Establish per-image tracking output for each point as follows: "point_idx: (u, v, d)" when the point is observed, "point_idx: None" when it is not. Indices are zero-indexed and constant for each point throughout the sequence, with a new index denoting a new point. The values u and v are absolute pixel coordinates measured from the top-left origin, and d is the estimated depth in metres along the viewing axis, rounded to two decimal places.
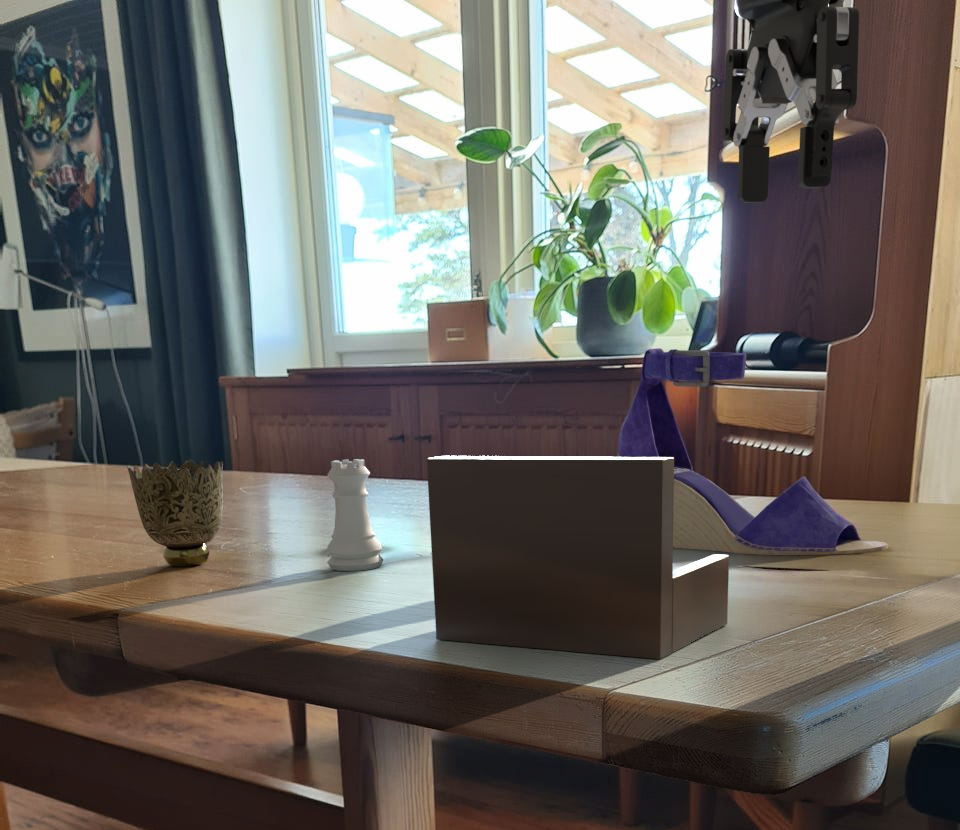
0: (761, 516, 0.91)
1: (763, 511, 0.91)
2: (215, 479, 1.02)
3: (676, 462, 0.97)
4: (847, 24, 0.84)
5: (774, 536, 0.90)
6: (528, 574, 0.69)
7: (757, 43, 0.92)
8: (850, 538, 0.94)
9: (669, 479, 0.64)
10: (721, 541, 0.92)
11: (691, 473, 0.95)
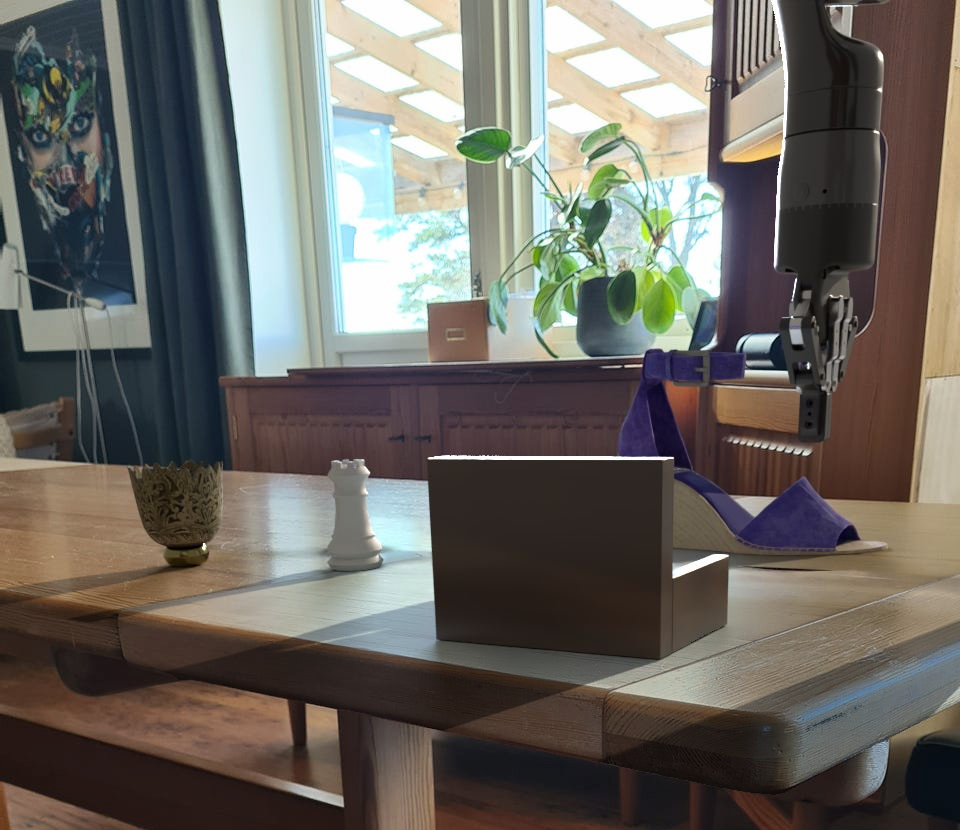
0: (761, 516, 0.91)
1: (763, 511, 0.91)
2: (215, 479, 1.02)
3: (676, 462, 0.97)
4: (800, 336, 0.96)
5: (774, 536, 0.90)
6: (528, 574, 0.69)
7: None
8: (850, 538, 0.94)
9: (669, 479, 0.64)
10: (721, 541, 0.92)
11: (691, 473, 0.95)
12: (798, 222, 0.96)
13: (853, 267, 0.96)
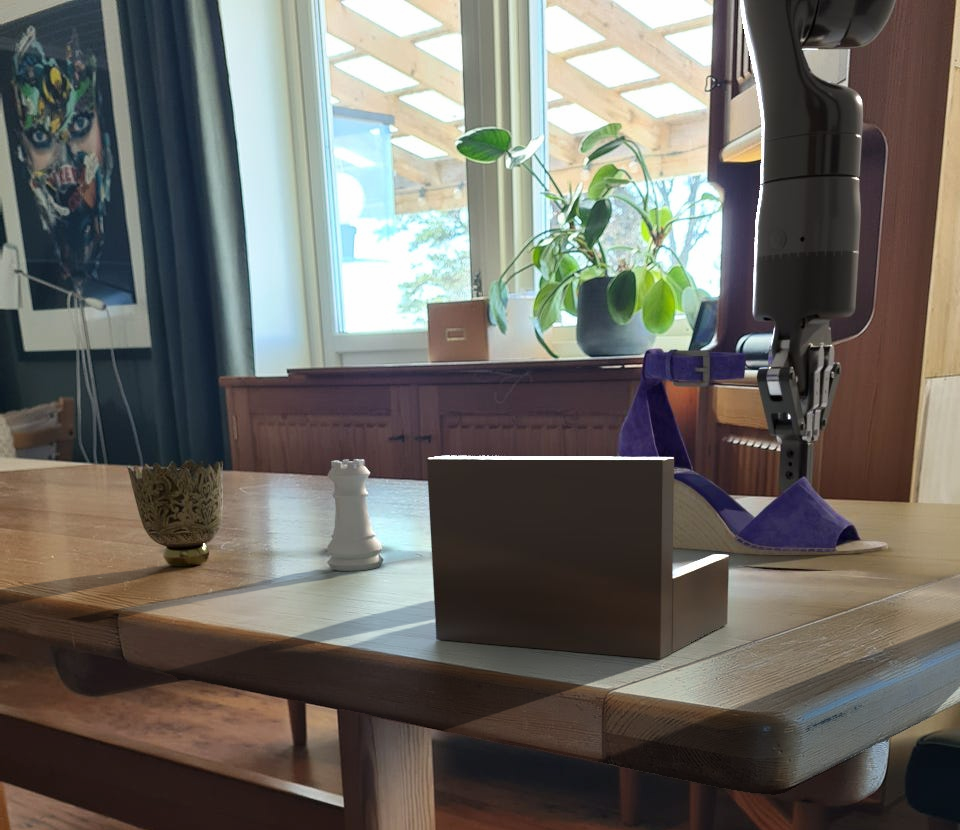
0: (761, 516, 0.91)
1: (763, 511, 0.91)
2: (215, 479, 1.02)
3: (676, 462, 0.97)
4: (778, 387, 0.94)
5: (774, 536, 0.90)
6: (528, 574, 0.69)
7: None
8: (850, 538, 0.94)
9: (669, 479, 0.64)
10: (721, 541, 0.92)
11: (691, 473, 0.95)
12: (776, 270, 0.93)
13: (833, 316, 0.94)
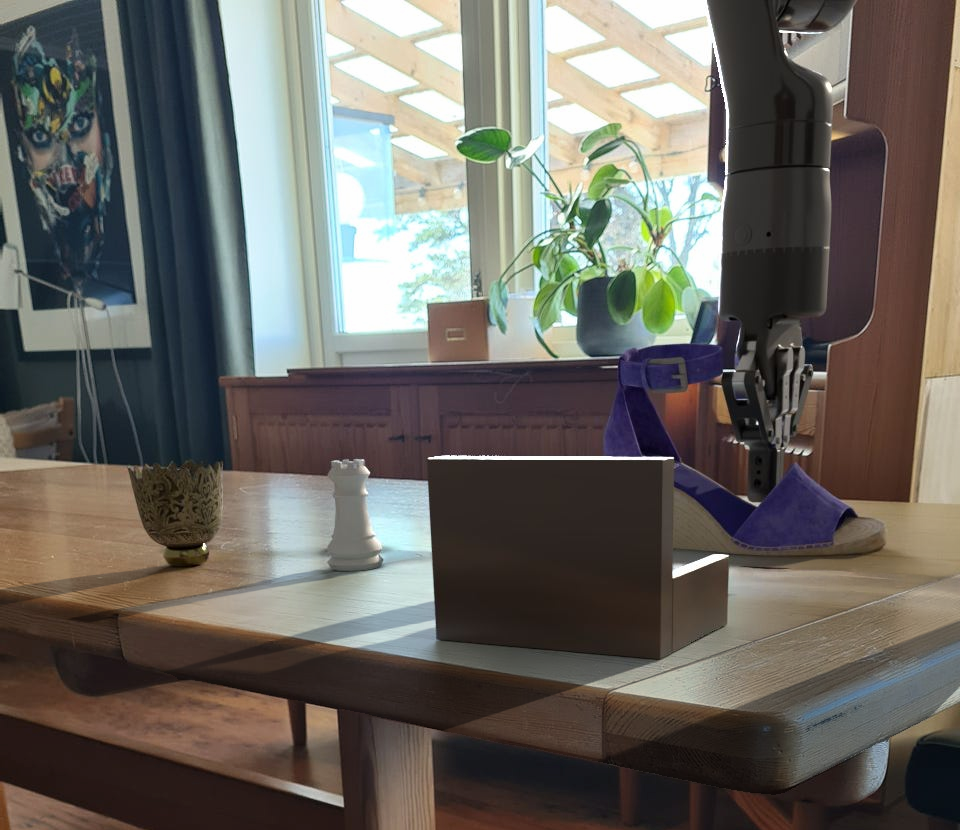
0: (755, 515, 0.90)
1: (757, 510, 0.90)
2: (215, 479, 1.02)
3: (664, 454, 0.95)
4: (744, 392, 0.88)
5: (770, 535, 0.90)
6: (528, 574, 0.69)
7: None
8: (848, 516, 0.93)
9: (669, 479, 0.64)
10: (718, 542, 0.92)
11: (680, 469, 0.94)
12: (741, 267, 0.88)
13: (802, 316, 0.88)
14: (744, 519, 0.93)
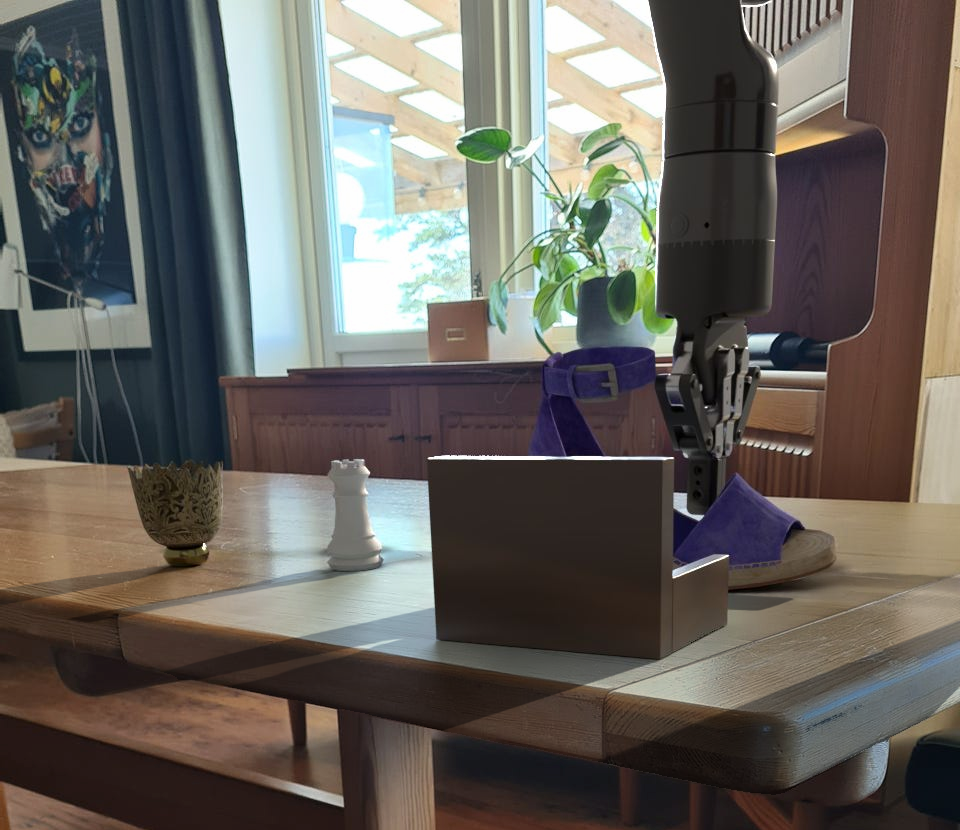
0: (696, 532, 0.83)
1: (697, 526, 0.83)
2: (215, 479, 1.02)
3: None
4: (679, 397, 0.81)
5: None
6: (528, 574, 0.69)
7: None
8: (794, 528, 0.86)
9: (669, 479, 0.64)
10: None
11: None
12: (677, 261, 0.81)
13: (743, 315, 0.81)
14: (684, 535, 0.86)
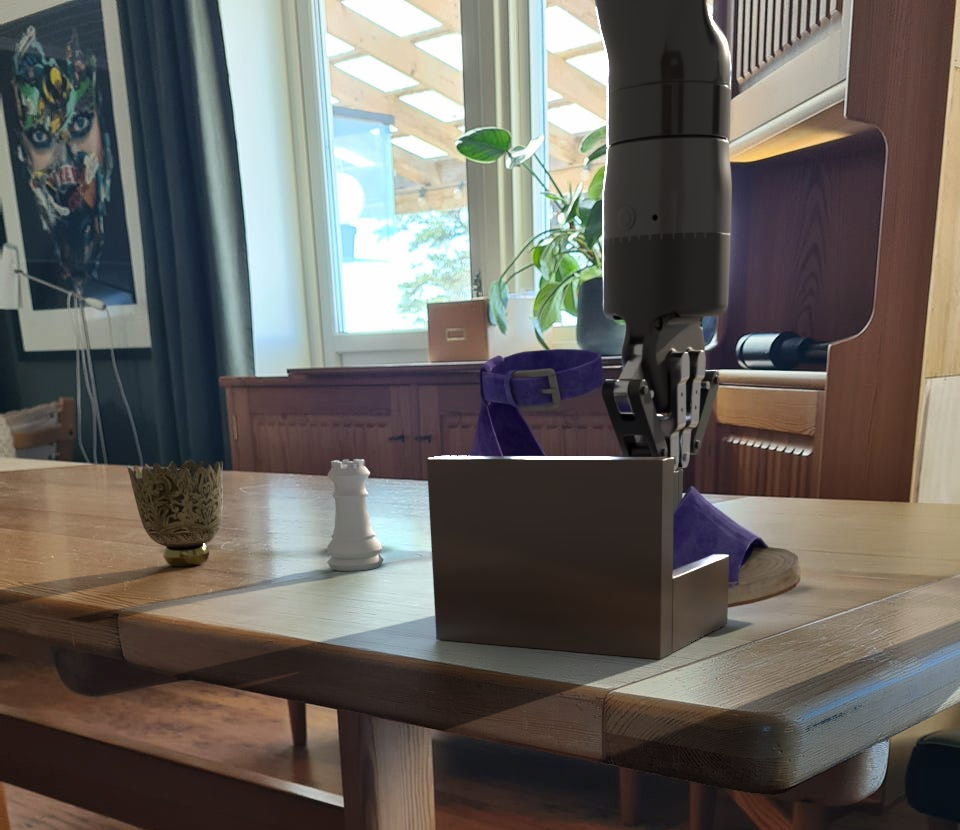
0: None
1: None
2: (215, 479, 1.02)
3: None
4: (628, 405, 0.75)
5: None
6: (528, 574, 0.69)
7: None
8: (756, 546, 0.80)
9: (669, 479, 0.64)
10: None
11: None
12: (624, 257, 0.74)
13: (697, 315, 0.75)
14: None
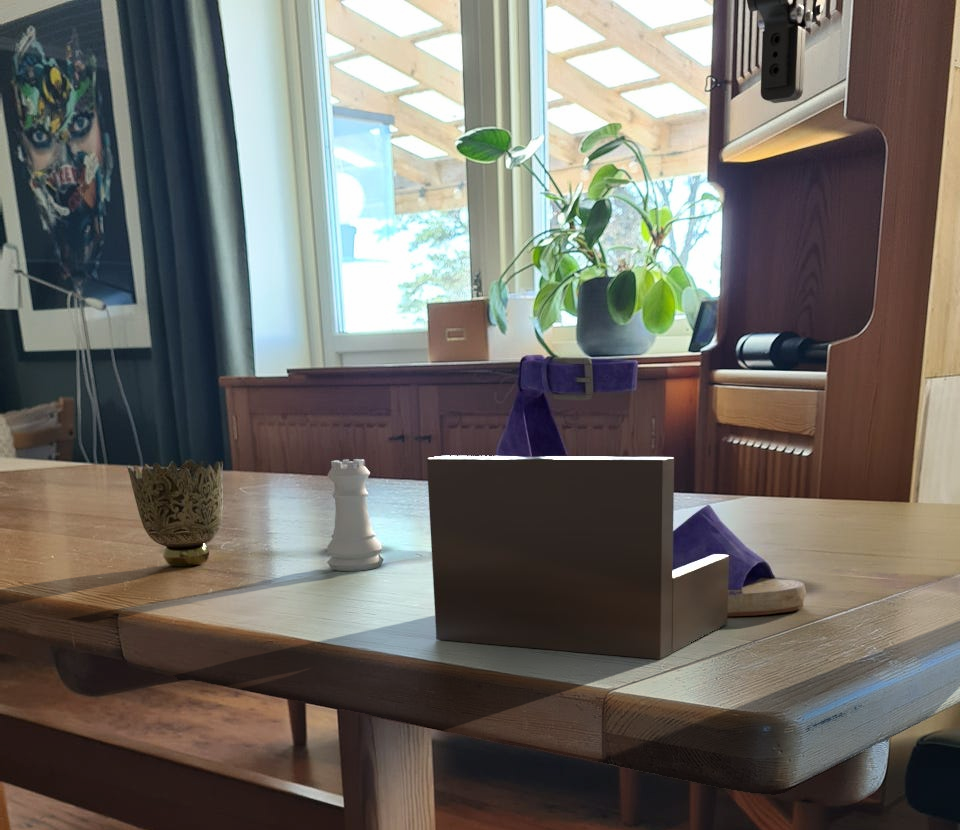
0: None
1: None
2: (215, 479, 1.02)
3: None
4: None
5: None
6: (528, 574, 0.69)
7: None
8: (764, 576, 0.80)
9: (669, 479, 0.64)
10: None
11: None
12: None
13: None
14: None
